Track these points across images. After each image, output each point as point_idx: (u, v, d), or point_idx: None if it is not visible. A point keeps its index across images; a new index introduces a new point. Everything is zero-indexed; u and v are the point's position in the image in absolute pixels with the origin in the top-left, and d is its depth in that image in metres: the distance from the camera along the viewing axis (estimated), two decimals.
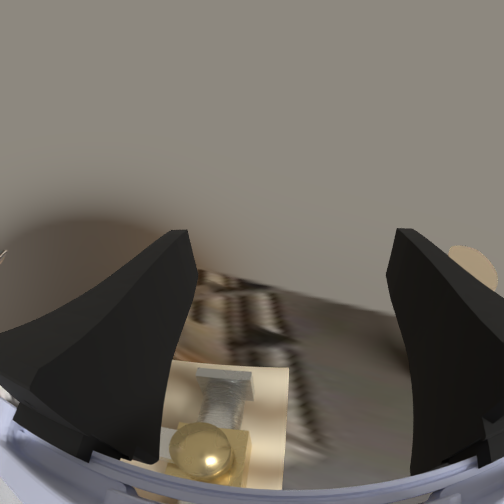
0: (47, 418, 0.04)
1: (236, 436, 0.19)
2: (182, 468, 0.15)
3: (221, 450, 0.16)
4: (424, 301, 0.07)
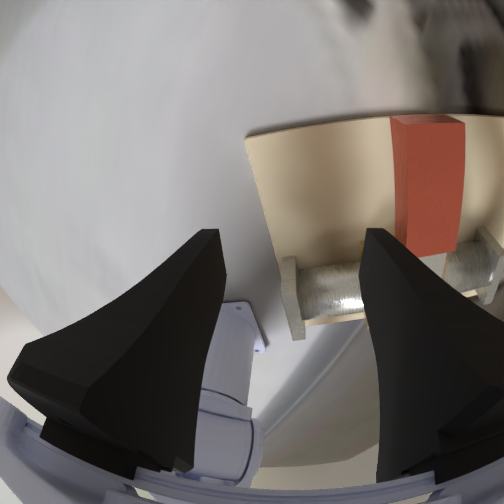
0: (82, 435, 0.04)
1: None
2: None
3: None
4: (389, 303, 0.07)
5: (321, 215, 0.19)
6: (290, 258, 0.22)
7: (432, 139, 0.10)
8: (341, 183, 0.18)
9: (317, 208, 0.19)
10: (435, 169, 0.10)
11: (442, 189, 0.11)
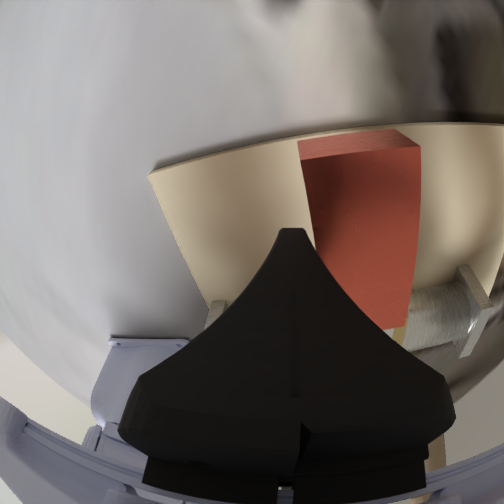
0: (211, 471, 0.04)
1: None
2: None
3: None
4: None
5: (248, 258, 0.17)
6: (219, 303, 0.19)
7: (355, 179, 0.07)
8: (269, 221, 0.15)
9: (242, 250, 0.16)
10: (363, 226, 0.07)
11: (377, 254, 0.08)
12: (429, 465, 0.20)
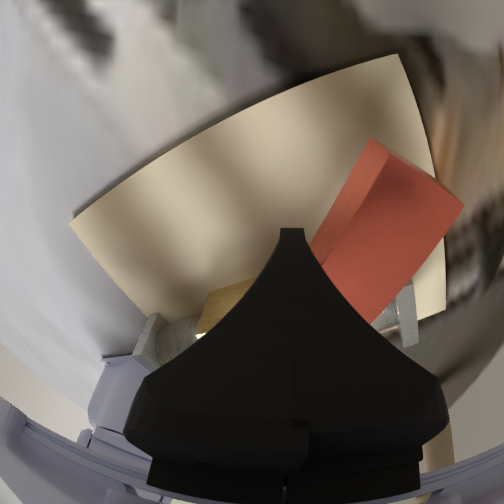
0: (217, 472, 0.04)
1: None
2: None
3: None
4: None
5: (156, 274, 0.18)
6: (154, 316, 0.21)
7: (412, 196, 0.07)
8: (155, 240, 0.17)
9: (148, 268, 0.18)
10: (391, 237, 0.08)
11: (382, 266, 0.08)
12: (432, 461, 0.18)
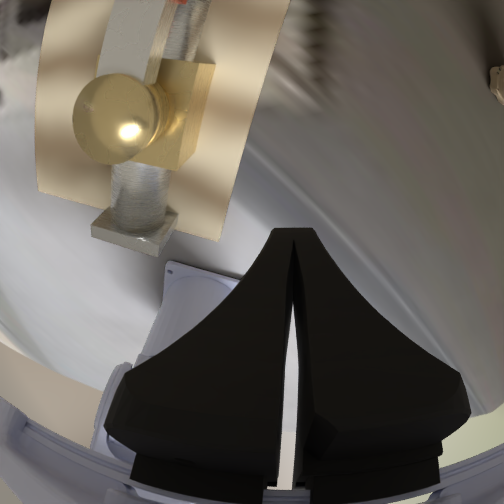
0: (197, 469, 0.04)
1: (178, 72, 0.11)
2: (77, 100, 0.10)
3: (104, 153, 0.11)
4: (299, 305, 0.07)
5: (87, 162, 0.18)
6: None
7: None
8: (67, 138, 0.17)
9: (81, 163, 0.19)
10: None
11: None
12: None
